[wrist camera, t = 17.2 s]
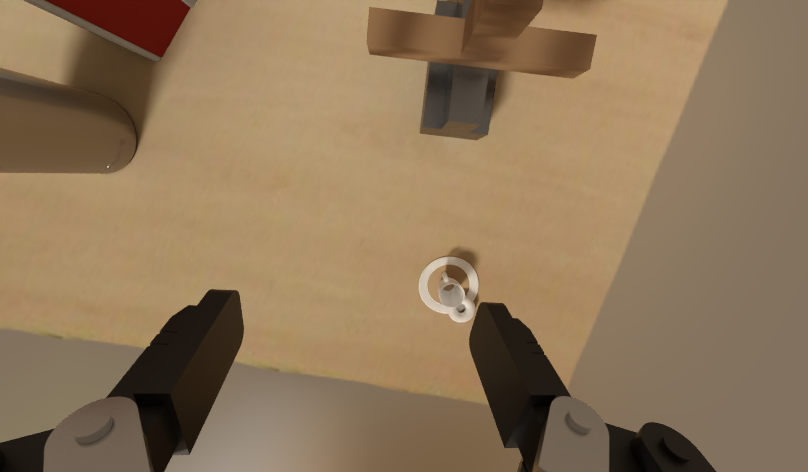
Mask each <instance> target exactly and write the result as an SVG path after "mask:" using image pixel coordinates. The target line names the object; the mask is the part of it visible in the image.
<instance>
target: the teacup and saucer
mask: <svg viewBox="0 0 808 472" xmlns="http://www.w3.org/2000/svg"><path fill="white" fill-rule="evenodd" d="M443 265H455V266H458V267H460V268H461V269H463V270H464V271H465V272H466V274H467V276H468V278H469V282H470V287H469V291H468V293H467V295H465V292H464V289H463V288H462V286H461V285H460V284H459V283H458V282H457V281H456V280H455V279H453V278H448V276H447V274H446V272H442V273H441V274H442V277H443V279H442V280H441V282H440V283H439V287H438V292H439V298H440V301H441V302H442V304H443V305H442V304H439V303H437V302H436V301H434V300H433V299H432V298H431V296H430V295H429V293H428V289H427V282H428V278H429V276H430V275H431V273H432V272H433V271H434V270H435V269H437V268H438V267H440V266H443ZM449 284H454V287H453V289H452V290H450V291H445V290H443V288H444V287H445V286H446V285H449ZM478 287H479V281H478V276H477V274H476V272H475V270H474V268H473V267H472V266H471V265H470V264H469V263H468V262H466V261H465V260H463V259H461V258H458V257H452V256H447V257H441V258H438V259H436V260H434V261H432V262H431V263H430V264H428V265H427V266H426V268H425V269H424V270H423V272H422V274H421V276H420V279H419V292H420V295H421V298H422V300H423V301H424V303H425V304H426V305H427V306H428V307H429V308H431V309H432V310H434V311H437V312H439V313H445V314H449V316H450V317H451V318H452V319H453V320H454V321H456V322H466V321H469V320H470V319H471V318H472V317H473V315H474V313H475V304H474V302H473V300H474V299H475V297H476V295H477V292H478ZM465 308H466V310H465V311H464V312H463V313H459V311H462V310H464V309H465Z"/></svg>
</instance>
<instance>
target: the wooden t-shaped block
mask: <svg viewBox="0 0 808 472" xmlns="http://www.w3.org/2000/svg"><path fill="white" fill-rule="evenodd" d="M542 5H543V0H472V1H471V3H470V6H469V8H468V11H467V13H466V17H465V19H463V18H455V17H447V16H438V15H430V14H422V13H414V12H406V11H398V10H390V9H381V8H373V7H369V19H368V32H367V45H368V49H369V53H370V55H379V56H387V57H395V58H404V59H412V60H421V61H429V62H438V63H446V64H454V65H463V66H471V67H480V68H488V69H497V70H505V71H514V72H522V73H530V74H539V75H547V76H556V77H564V78H575V77H577V76H579V75H580V74H582V73H584V72H586V71H587V70H589V69H590V67H591V62H592V57H593V52H594V47H595V42H596V37H597V35H593V34H585V33H577V32H569V31H560V30H552V29H544V28H536V27H528V25H529V23H530V22H531V21H532V20H533V19H534V17H535V16H536V15H537V14H538V13H539V11H540V10H541V9H542Z"/></svg>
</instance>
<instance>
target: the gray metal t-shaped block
mask: <svg viewBox="0 0 808 472" xmlns="http://www.w3.org/2000/svg"><path fill="white" fill-rule="evenodd" d="M471 1H472V0H458V2H457V3H455V2H447V1H439V0H437V4H436V9H435V14H434V15H438V16H447V17H455V18H463V19H465V17H466V13H467V11H468V8H469V6H470V3H471ZM497 72H498V70H497V69H488V68H480V67H471V66H463V65H454V64H446V63H438V62H429V61H428V66H427V74H426V83H425V92H424V100H423V109H422V118H421V126H420V134H429V135H437V136H446V137H454V138H463V139H471V140H478V139H480V138H482V137H484V136H486V135H488V130H489V124H490V117H491V111H492V104H493V98H494V91H495V85H496V79H497Z"/></svg>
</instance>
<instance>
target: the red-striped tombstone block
mask: <svg viewBox="0 0 808 472" xmlns="http://www.w3.org/2000/svg"><path fill="white" fill-rule="evenodd" d="M24 1H26V2H28V3H30V4H32V5H34V6H37V7H39V8H41V9H43V10H45V11H47V12H49V13H52V14H54V15H56V16H58V17H60V18H62V19H64V20H67V21H69V22H71V23H73V24H75V25H77V26H79V27H82V28H84V29H86V30H88V31H90V32H92V33H94V34H97V35H99V36H101V37H103V38H105V39H107V40H109V41H112V42H114V43H116V44H118V45H120V46H122V47H125V48H127V49H129V50H131V51H133V52H135V53H137V54H140V55H142V56H144V57H146V58H148V59H150V60H152V61H156V62H157V61H160V59H161V57H162V56H163V55H164V53H165V51H166V50H167V48H168V46H169V44H170V43H171V41H172V39H173V37H174V36H175V34H176V32H177V30H178V29H179V27H180V25H181V23H182V22H183V20H184V18H185V16H186V15H187V13H188V11H189V9H190V8H193V6H194V5H195V3H196V1H197V0H24Z"/></svg>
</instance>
